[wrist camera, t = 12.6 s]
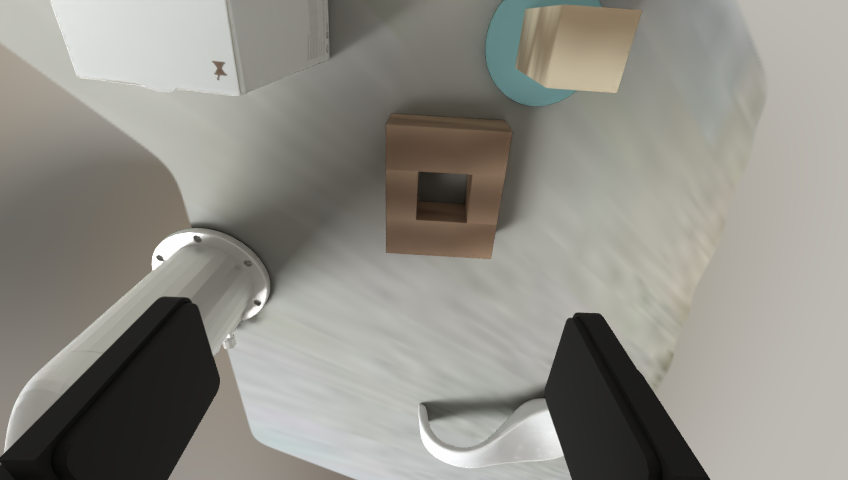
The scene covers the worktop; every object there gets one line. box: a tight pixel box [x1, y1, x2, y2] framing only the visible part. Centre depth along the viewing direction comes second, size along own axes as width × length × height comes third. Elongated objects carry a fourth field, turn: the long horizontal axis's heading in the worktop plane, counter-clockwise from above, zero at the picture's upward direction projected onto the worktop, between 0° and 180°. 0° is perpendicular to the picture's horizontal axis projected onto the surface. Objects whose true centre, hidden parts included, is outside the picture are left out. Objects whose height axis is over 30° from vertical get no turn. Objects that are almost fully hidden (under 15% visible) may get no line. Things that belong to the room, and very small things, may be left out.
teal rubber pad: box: [485, 0, 602, 106], centre depth 29 cm, size 9×9×1 cm
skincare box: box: [50, 0, 330, 96], centre depth 22 cm, size 8×7×16 cm
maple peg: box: [515, 5, 642, 93], centre depth 24 cm, size 4×4×10 cm
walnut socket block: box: [386, 114, 513, 259], centre depth 34 cm, size 12×10×4 cm
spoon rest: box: [418, 398, 564, 468], centre depth 51 cm, size 24×12×7 cm, turn 94°
